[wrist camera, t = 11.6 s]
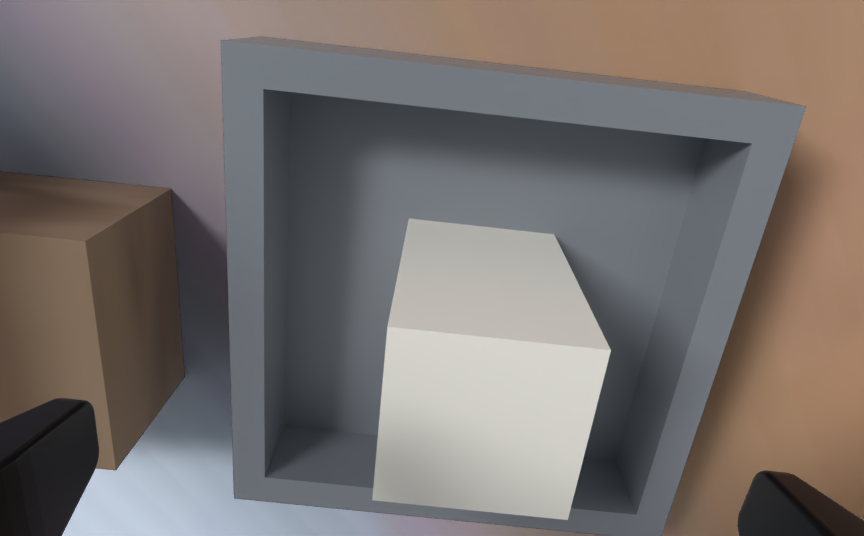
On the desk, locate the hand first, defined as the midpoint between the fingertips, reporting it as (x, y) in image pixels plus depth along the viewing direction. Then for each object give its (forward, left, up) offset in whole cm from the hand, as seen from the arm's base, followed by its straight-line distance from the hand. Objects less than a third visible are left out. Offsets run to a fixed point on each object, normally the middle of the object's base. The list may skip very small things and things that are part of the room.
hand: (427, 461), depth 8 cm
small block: (+1, -3, -11) cm, 11 cm away
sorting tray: (+1, -3, -12) cm, 12 cm away
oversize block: (-12, -4, -12) cm, 17 cm away
